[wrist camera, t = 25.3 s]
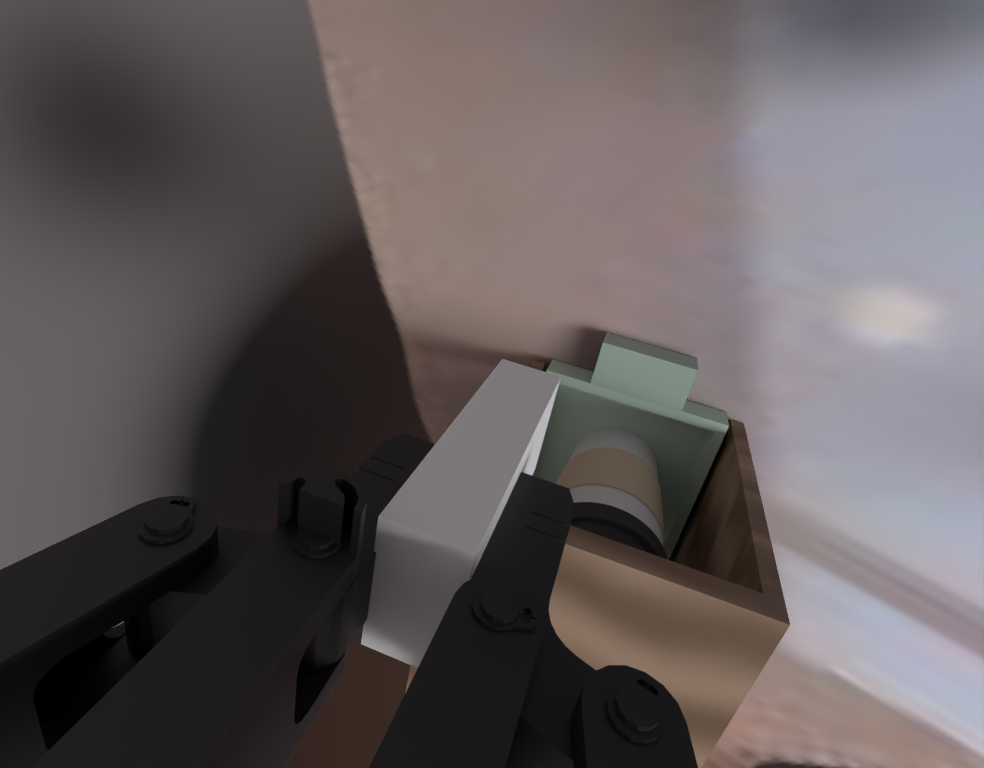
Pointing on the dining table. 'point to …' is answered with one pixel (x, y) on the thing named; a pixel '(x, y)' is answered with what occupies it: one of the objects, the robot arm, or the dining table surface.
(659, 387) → the tray
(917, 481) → the dining table surface
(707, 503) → the hollow wooden crate
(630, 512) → the coffee cup
